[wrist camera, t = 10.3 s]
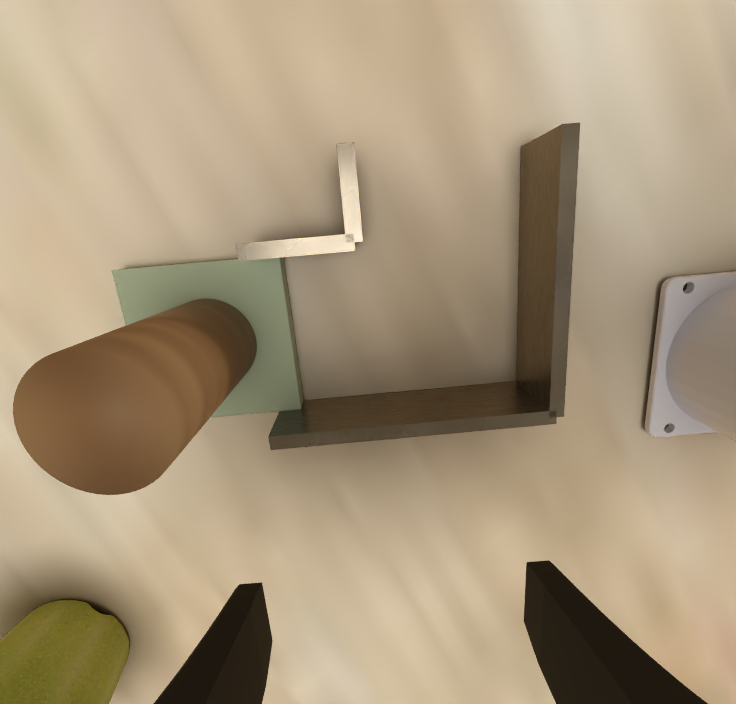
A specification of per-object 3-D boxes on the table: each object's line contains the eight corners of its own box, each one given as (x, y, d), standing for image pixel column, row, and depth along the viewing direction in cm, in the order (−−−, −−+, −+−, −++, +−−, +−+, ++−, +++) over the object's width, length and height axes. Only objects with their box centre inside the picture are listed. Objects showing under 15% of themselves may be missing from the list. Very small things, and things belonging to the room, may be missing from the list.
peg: (248, 294, 17) (157, 340, 9) (263, 382, 18) (193, 487, 11) (155, 302, 17) (-11, 356, 9) (176, 389, 18) (42, 500, 11)
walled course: (535, 145, 17) (580, 122, 13) (528, 391, 20) (563, 423, 17) (247, 170, 17) (220, 154, 13) (285, 413, 20) (270, 449, 16)
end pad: (283, 254, 18) (279, 255, 17) (303, 400, 20) (301, 409, 19) (124, 268, 18) (111, 270, 17) (161, 413, 20) (151, 422, 19)
